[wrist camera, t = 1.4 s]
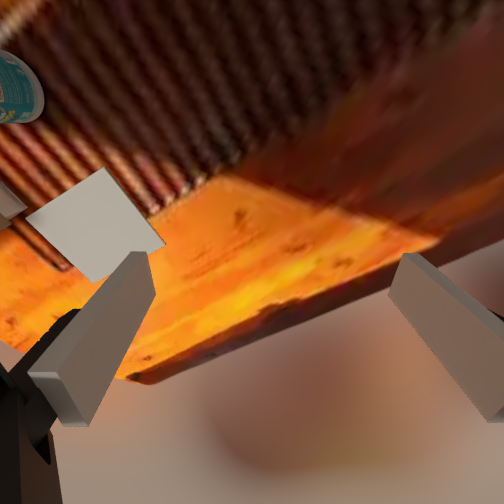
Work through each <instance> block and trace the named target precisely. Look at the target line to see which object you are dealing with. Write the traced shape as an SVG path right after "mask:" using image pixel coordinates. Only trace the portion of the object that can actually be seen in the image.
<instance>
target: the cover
mask: <svg viewBox="0 0 504 504" xmlns="http://www.w3.org/2000/svg"><path fill="white" fill-rule="evenodd" d="M11 224H12V223H11V222H10V221H9V220H8V219H6V218H5V217H4V216H3V215H2V214H1V213H0V231H2V230H3V229H5V228H6V227H8V226H10V225H11Z"/></svg>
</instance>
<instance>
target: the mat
mask: <svg viewBox="0 0 504 504" xmlns="http://www.w3.org/2000/svg"><path fill="white" fill-rule="evenodd" d="M25 219H26V220H27V221H28V222H29V223H30V224H31V225H32V226H33V227H35V228H36V229H37V230H38V231H39V232H40V233H41V234H42V235H43V236H44V237H45V238H46V239H47V240H48V241H49V242H50V243H51V244H52V245H53V246H54V247H55V248H57V249H58V250H59V251H60V252H61V253H62V254H63V255H64V256H65V257H66V258H67V259H68V260H69V261H70V262H71V263H72V264H73V265H74V266H75V267H76V268H77V269H78V270H80V271H81V272H82V273H83V274H84V275H85V276H86V277H87V278H88V279H89V280H90V281H91V282H92V283H95V282H97V281H99V280H101V279H102V278H104V277H106V276H108V275H110V274H112V273H113V272H114V271H115V269H116V268H117V267H118V266H119V265H120V264H121V262H122V261H123V260H124V259H125V258H126V257H127V255H128V254H129V253H130V252H131V251H146V252H147V255H148V254H150V253H152V252H154V251H156V250H158V249H160V248H161V247H163V246H165V245H166V243H165V242H164V241H163V240H162V238H161V237H160V236H159V235H158V233H157V232H156V231H155V230H154V228H153V227H152V226H151V224H150V223H149V222H148V221H147V219H146V218H145V217H144V216H143V214H142V213H141V212H140V211H139V209H138V208H137V207H136V205H135V204H134V203H133V202H132V200H131V199H130V198H129V197H128V195H127V194H126V193H125V192H124V190H123V189H122V188H121V187H120V185H119V184H118V183H117V181H116V180H115V179H114V178H113V176H112V175H111V174H110V173H109V171H108V170H107V169H106V168H105V167H103V168H101V169H100V170H98V171H97V172H95V173H94V174H92V175H91V176H89V177H88V178H86V179H85V180H83V181H81V182H80V183H78V184H77V185H75V186H74V187H72V188H71V189H69V190H68V191H66V192H65V193H63V194H62V195H60V196H58V197H57V198H55V199H54V200H52V201H51V202H49V203H48V204H46V205H45V206H43V207H42V208H40V209H39V210H37V211H35V212H34V213H32V214H31V215H29V216H28V217H26V218H25Z"/></svg>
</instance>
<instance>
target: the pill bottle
mask: <svg viewBox="0 0 504 504" xmlns="http://www.w3.org/2000/svg"><path fill="white" fill-rule="evenodd" d="M43 108H44V94H43V90H42V87H41V84H40V82H39V80H38V79H37V77H36V75H35V74H34V73H33V71H32V70H31V69H30V68H29V67H28V66H27V65H26V64H25V63H24V62H23V61H22V60H20V59H19V58H17V57H16V56H14V55H13V54H11V53H9V52H6V51H3V50H0V123H25V122H30V121H33V120H35V119H36V118H38V117H39V116H40V114H41V113H42V111H43Z"/></svg>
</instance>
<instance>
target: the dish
mask: <svg viewBox="0 0 504 504" xmlns="http://www.w3.org/2000/svg"><path fill="white" fill-rule="evenodd" d="M27 208H28V207H27V206H26V205H25V204H24V203H23V202H22V201H21V200H20V199H19V198H18V197H17V196H16V195H15V194H14V193H13V192H12V191H11V190H10V189H9V188H8V187H7V186H6V185H5V184H4V183H3V182H2V181H1V180H0V213H1V214H2V215H3V216H4V217H5V218H6V219H8V220H10V219H12V218H13V217H15V216H16V215H18V214H19V213H21V212H22V211H24V210H25V209H27Z"/></svg>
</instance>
